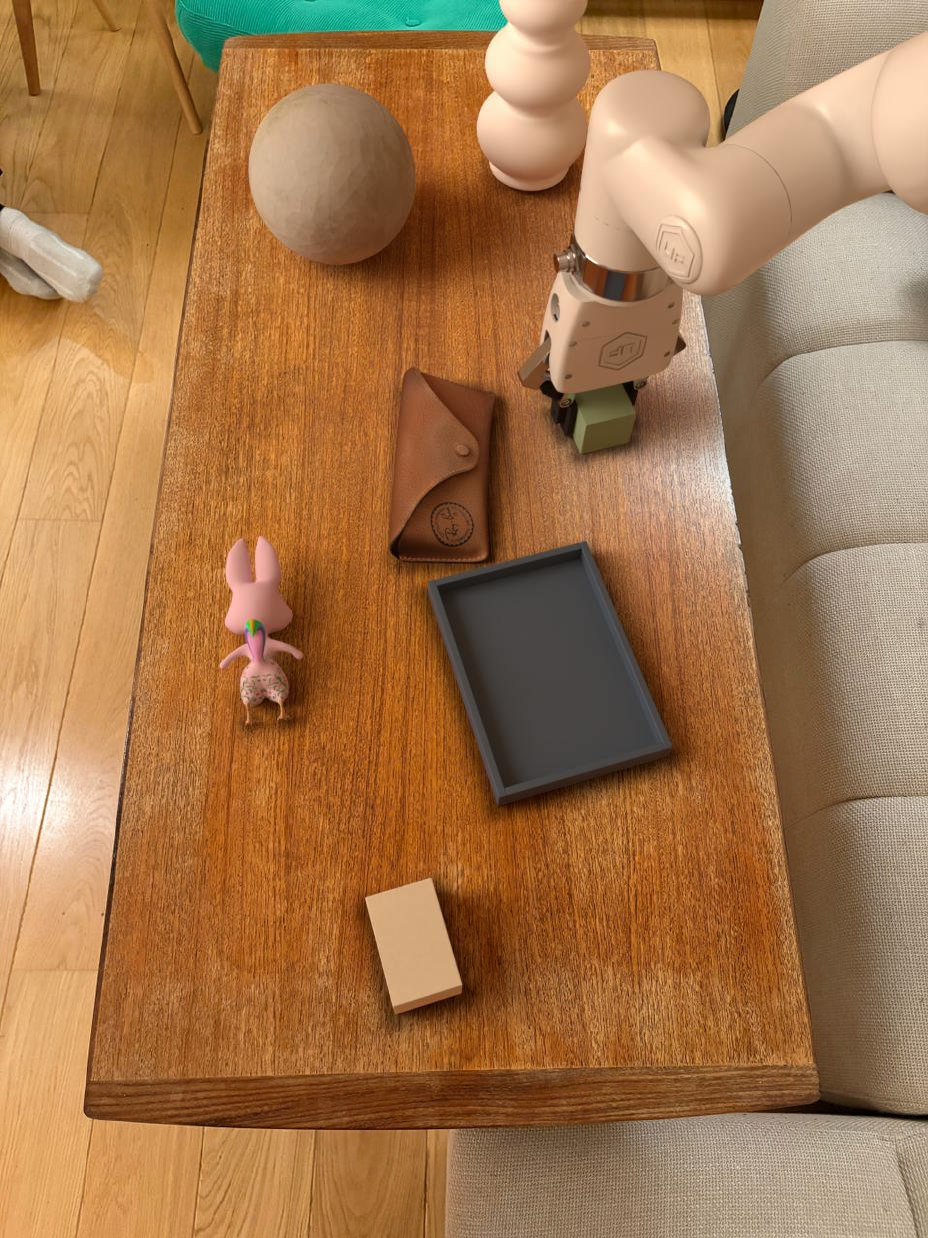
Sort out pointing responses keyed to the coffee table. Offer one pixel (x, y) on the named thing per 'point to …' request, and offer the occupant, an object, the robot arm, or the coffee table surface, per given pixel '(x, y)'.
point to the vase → (535, 94)
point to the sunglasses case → (441, 472)
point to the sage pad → (603, 418)
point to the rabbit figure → (258, 623)
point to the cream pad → (414, 945)
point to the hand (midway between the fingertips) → (591, 415)
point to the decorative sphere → (332, 174)
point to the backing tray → (546, 672)
